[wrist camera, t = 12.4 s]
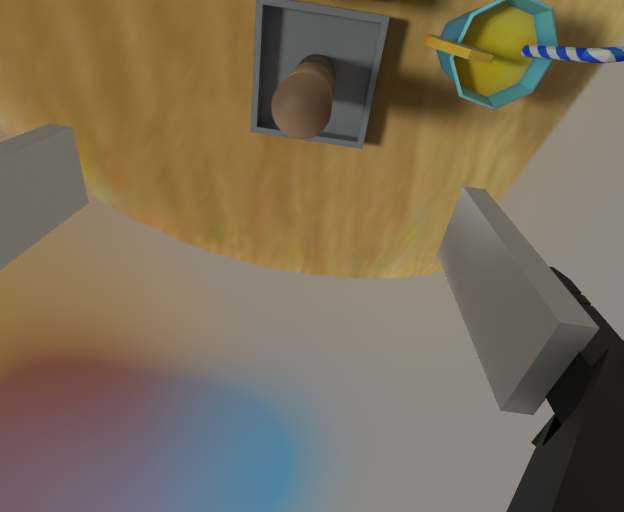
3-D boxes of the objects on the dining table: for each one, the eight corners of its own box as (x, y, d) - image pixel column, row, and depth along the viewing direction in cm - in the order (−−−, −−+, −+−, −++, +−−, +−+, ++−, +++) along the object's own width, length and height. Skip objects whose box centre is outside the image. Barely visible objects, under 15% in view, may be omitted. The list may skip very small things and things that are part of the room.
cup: (561, -11, 34) (693, -26, 21) (538, 83, 38) (637, 118, 25) (402, 1, 35) (438, -6, 22) (397, 91, 39) (425, 128, 26)
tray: (261, -4, 35) (256, -5, 33) (386, 16, 35) (389, 16, 33) (255, 125, 42) (250, 131, 40) (361, 142, 42) (362, 148, 40)
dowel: (298, 51, 37) (273, 70, 24) (338, 57, 37) (336, 80, 24) (294, 94, 39) (269, 134, 26) (331, 100, 39) (326, 143, 26)
